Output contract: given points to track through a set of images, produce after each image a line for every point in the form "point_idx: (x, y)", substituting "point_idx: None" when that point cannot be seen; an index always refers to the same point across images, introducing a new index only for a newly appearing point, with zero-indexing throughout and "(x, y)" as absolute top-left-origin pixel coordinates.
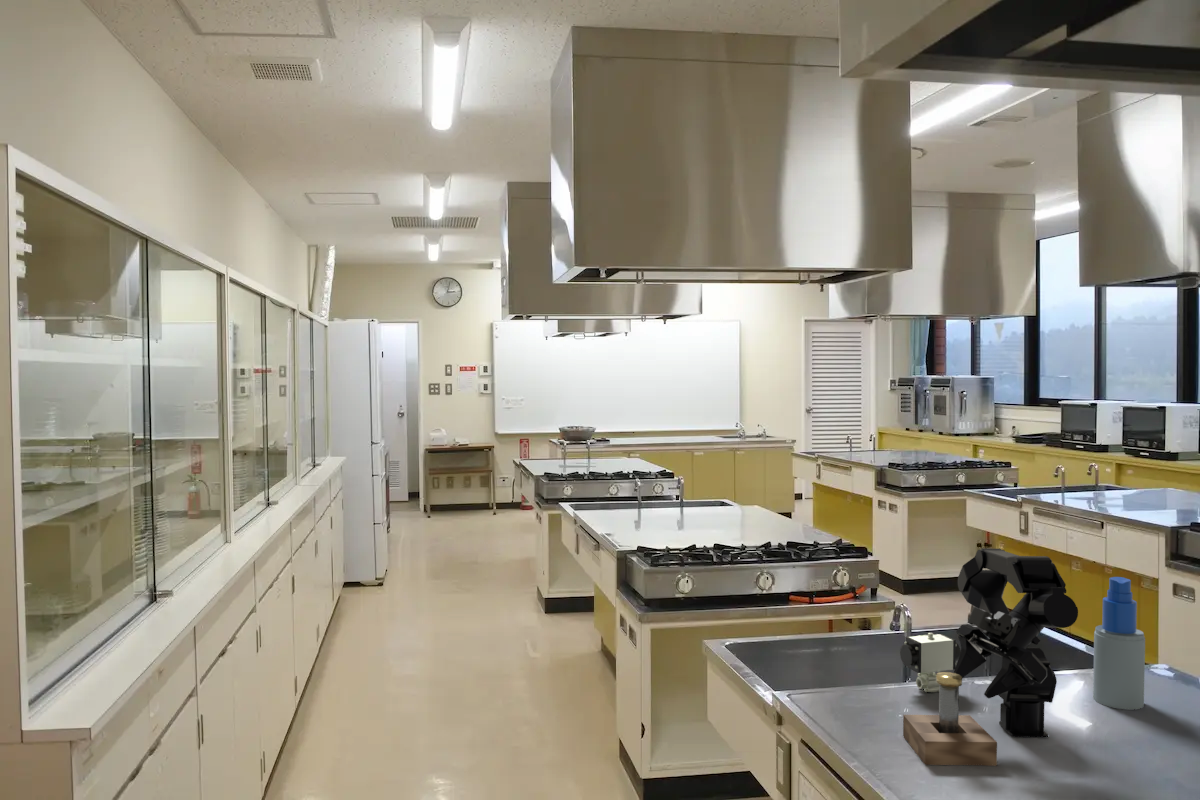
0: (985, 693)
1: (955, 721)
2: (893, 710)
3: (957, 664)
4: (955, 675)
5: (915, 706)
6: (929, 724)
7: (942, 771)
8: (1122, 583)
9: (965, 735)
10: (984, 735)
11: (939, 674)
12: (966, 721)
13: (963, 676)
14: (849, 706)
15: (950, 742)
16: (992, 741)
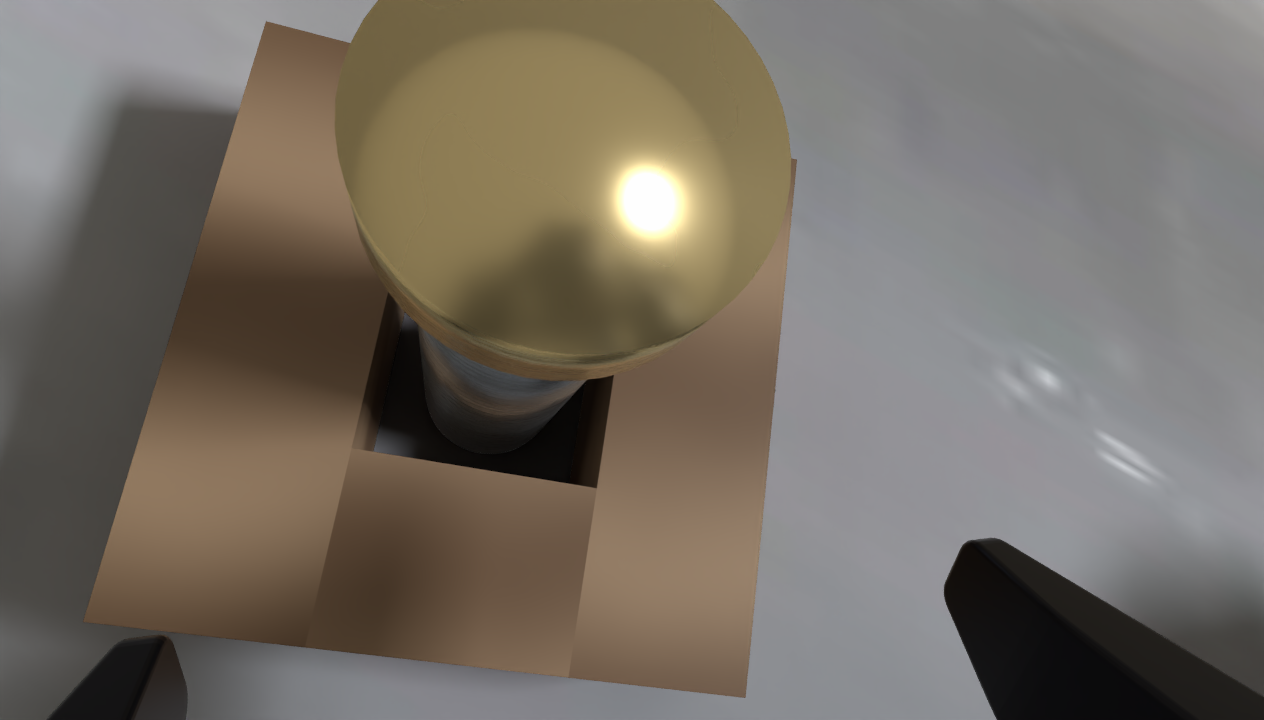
0: (123, 649)
1: (421, 353)
2: (1113, 376)
3: (1198, 671)
4: (587, 258)
5: (1180, 551)
6: None
7: (174, 169)
8: None
9: (309, 405)
10: (270, 583)
11: (680, 25)
12: (614, 590)
13: (1000, 716)
14: (1155, 159)
15: (211, 207)
16: (112, 585)
